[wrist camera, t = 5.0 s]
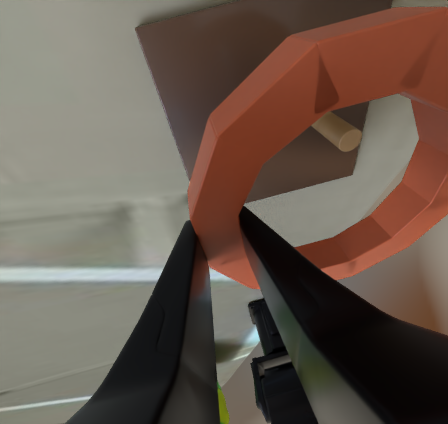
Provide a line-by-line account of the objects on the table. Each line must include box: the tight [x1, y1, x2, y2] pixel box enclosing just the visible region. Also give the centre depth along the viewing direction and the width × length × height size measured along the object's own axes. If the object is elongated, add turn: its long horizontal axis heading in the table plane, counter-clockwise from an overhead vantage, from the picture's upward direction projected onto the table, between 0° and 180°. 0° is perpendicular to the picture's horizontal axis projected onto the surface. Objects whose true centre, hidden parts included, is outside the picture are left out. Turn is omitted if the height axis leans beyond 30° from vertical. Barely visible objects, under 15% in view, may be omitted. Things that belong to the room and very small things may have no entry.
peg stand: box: [135, 0, 393, 203], centre depth 13 cm, size 12×13×5 cm
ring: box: [188, 7, 448, 289], centre depth 9 cm, size 11×11×2 cm
